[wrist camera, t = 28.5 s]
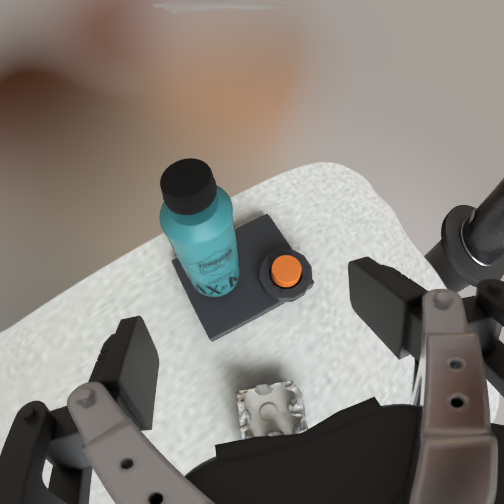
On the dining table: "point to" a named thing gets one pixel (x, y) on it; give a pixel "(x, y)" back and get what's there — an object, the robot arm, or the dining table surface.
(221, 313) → the scale
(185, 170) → the beverage bottle
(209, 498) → the robot arm
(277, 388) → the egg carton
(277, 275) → the button
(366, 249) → the dining table surface
